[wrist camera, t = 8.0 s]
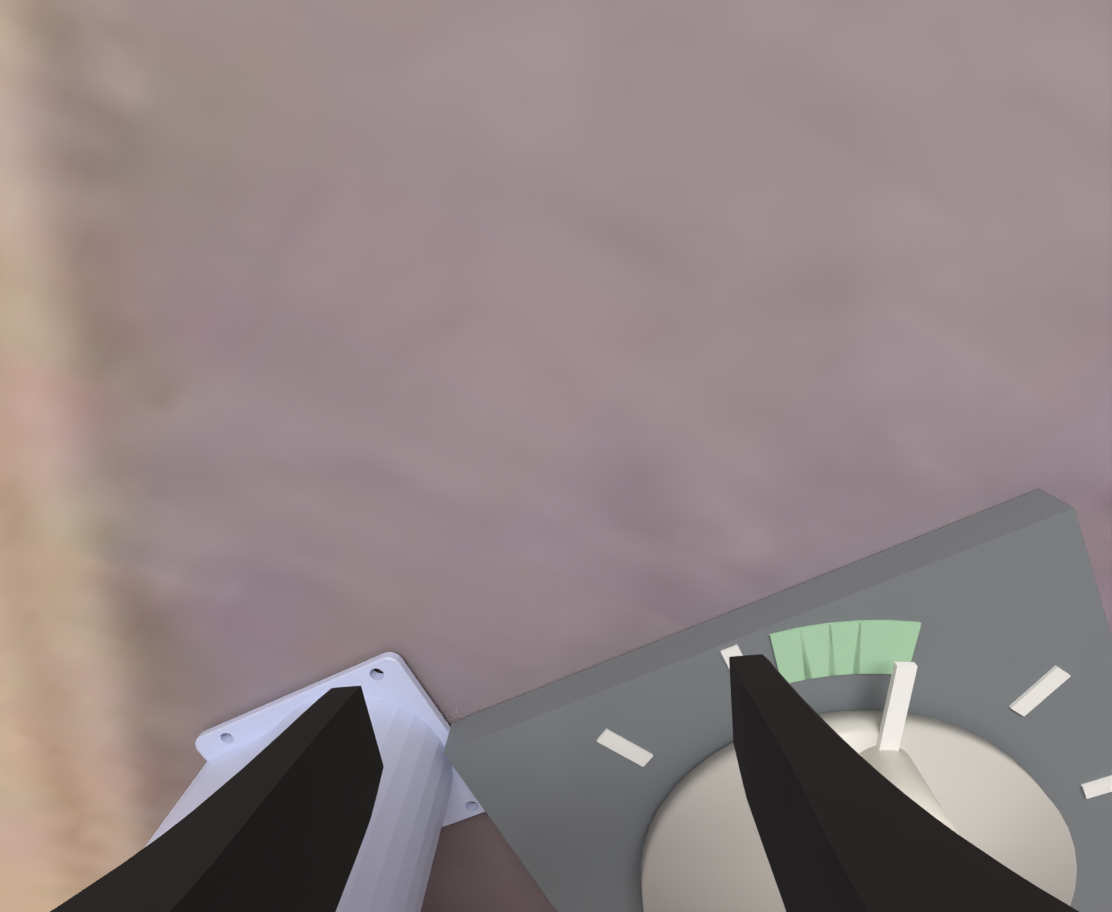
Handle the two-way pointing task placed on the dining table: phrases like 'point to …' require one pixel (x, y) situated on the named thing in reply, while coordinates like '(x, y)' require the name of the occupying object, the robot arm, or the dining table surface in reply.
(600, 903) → the tuner board
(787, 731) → the robot arm
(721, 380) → the dining table surface
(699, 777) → the beige oval dome
